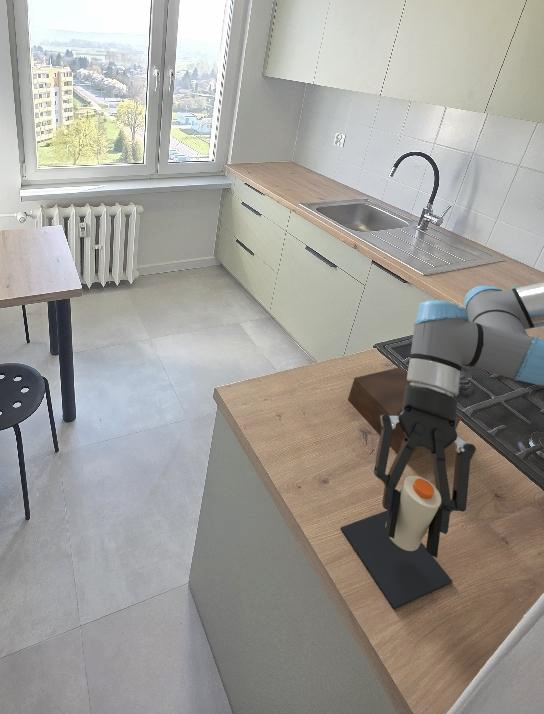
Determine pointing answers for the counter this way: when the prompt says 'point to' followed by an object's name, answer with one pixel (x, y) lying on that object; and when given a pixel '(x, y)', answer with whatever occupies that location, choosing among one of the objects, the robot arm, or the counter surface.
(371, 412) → the shelf
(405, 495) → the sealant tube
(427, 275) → the counter surface
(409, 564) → the mat
